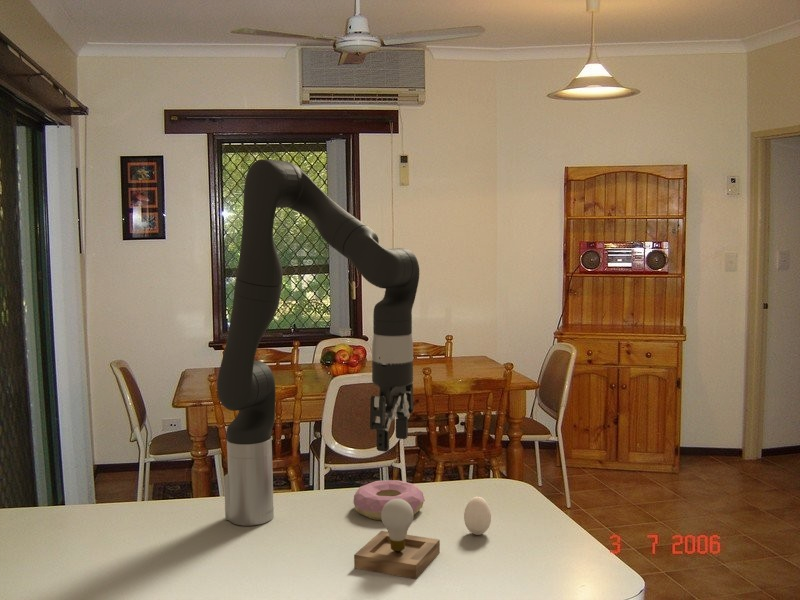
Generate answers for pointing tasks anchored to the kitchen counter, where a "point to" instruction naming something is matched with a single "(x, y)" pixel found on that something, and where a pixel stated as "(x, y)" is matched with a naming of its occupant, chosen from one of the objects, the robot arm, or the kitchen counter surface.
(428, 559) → the base
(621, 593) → the kitchen counter surface
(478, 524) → the egg
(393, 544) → the light bulb
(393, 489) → the donut
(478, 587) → the kitchen counter surface
